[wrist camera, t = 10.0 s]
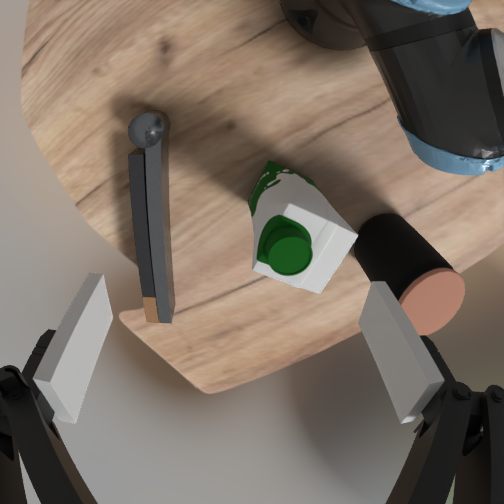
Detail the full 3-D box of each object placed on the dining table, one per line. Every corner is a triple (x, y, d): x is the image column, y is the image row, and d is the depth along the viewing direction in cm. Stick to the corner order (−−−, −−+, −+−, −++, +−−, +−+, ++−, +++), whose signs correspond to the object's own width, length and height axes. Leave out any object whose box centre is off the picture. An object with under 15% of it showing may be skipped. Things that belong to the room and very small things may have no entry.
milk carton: (265, 151, 43) (290, 202, 25) (321, 178, 45) (376, 243, 28) (239, 205, 46) (244, 286, 29) (293, 228, 49) (326, 314, 31)
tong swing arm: (138, 147, 41) (127, 155, 37) (152, 147, 41) (143, 154, 37) (151, 303, 54) (146, 322, 50) (163, 304, 54) (159, 322, 50)
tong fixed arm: (139, 110, 38) (128, 114, 34) (170, 109, 39) (162, 113, 34) (152, 303, 54) (146, 321, 50) (176, 304, 54) (172, 323, 50)
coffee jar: (344, 265, 53) (384, 339, 37) (361, 206, 47) (416, 268, 32) (396, 268, 54) (444, 336, 38) (415, 215, 49) (477, 273, 33)
